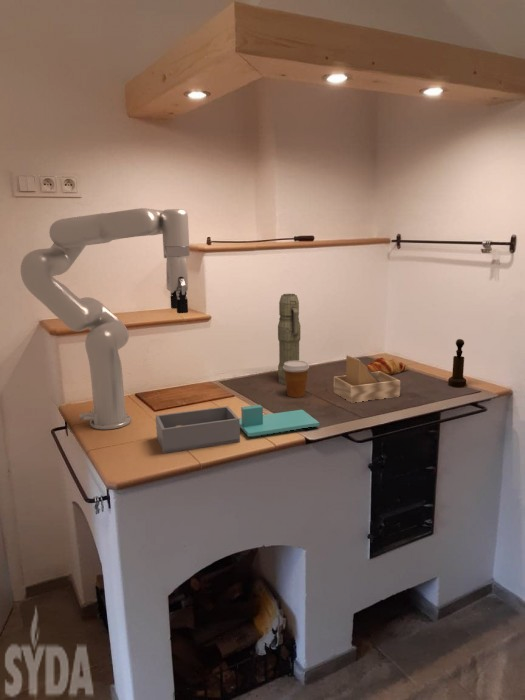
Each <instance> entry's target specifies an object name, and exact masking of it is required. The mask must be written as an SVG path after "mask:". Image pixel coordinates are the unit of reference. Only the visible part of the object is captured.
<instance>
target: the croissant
mask: <svg viewBox="0 0 525 700" xmlns="http://www.w3.org/2000/svg"><path fill="white" fill-rule="evenodd" d="M365 366H366V367H367V368H368V370H369V371H370V372H378V371H381V372H383V373H385V374H387V375H389V376H392V375H395V374H397V373H401V372H405V371H406V370H408V368H409V365H408V364H405V363H403V362H402V361H401V362H399V361H397V360H395V359H389V358H387V357H377V358H375V359H373V361H372V362H370V363H369V364H366V365H365Z"/></svg>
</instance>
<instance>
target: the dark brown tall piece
mask: <svg viewBox="0 0 525 700" xmlns="http://www.w3.org/2000/svg"><path fill="white" fill-rule="evenodd" d="M455 345H456V348H457V350H456V351H455V352H456V355H454V356H452V357H453V358H452V359H453V361H452V375H451V376H450V377H449V378H448V380H447V385H448V386H450V387H452V388H464V387H467V379H466V378H465V377H464V370H465V369H464V368H465V367H464V366H465V357H464V356H462V355H463V353H464V351H463V349H462V348H463V347H464V346H465V340H463V339H461V338H458V339H456V340H455Z"/></svg>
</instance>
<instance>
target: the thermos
mask: <svg viewBox="0 0 525 700" xmlns="http://www.w3.org/2000/svg"><path fill="white" fill-rule="evenodd" d="M299 301H300V300H299V297H298V295H297V294H295V293H283V294H282V295H281V296H280V298H279V302H278V304H279V306H278V307H279V308H278V310H279V311H278V312H279V313H278V314H279V319H278V321H279V322H278V324H277V339H278V342H279V343H278V347H279V351H278V356H279V359H278V360H279V362H278V365H277V376H278V384H279V383H280V384H279V385H283V386H286V380H285V372H284V368H283V366H284V363H285V362H287V361H300V341H301V323H300V317H299V315H300V302H299Z"/></svg>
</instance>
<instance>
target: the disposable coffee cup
mask: <svg viewBox="0 0 525 700" xmlns="http://www.w3.org/2000/svg"><path fill="white" fill-rule="evenodd" d="M283 368H284V372H285V380H286V385H285V386H286V392H287V393H286V395H287V396H288V397H289V396H290V398H294V397H298V398H303V397H305V395H306V387H307V380H308V370H309V369H310V366H309V363H308V362H307V361H304V360H299V361H287V362H285V363H284V366H283ZM302 396H303V397H302Z"/></svg>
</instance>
